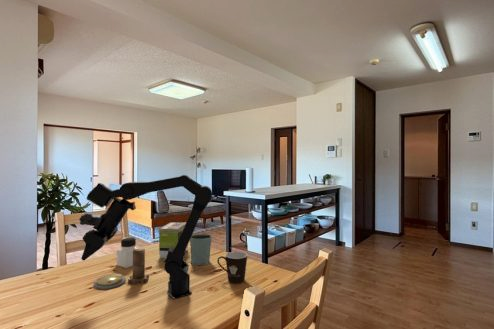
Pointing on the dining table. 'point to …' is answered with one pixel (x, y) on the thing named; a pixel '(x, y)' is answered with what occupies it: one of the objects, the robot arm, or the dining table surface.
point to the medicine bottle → (126, 252)
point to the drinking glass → (200, 248)
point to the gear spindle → (138, 267)
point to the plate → (109, 285)
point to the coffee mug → (235, 266)
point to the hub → (109, 279)
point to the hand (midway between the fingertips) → (87, 255)
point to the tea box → (169, 237)
